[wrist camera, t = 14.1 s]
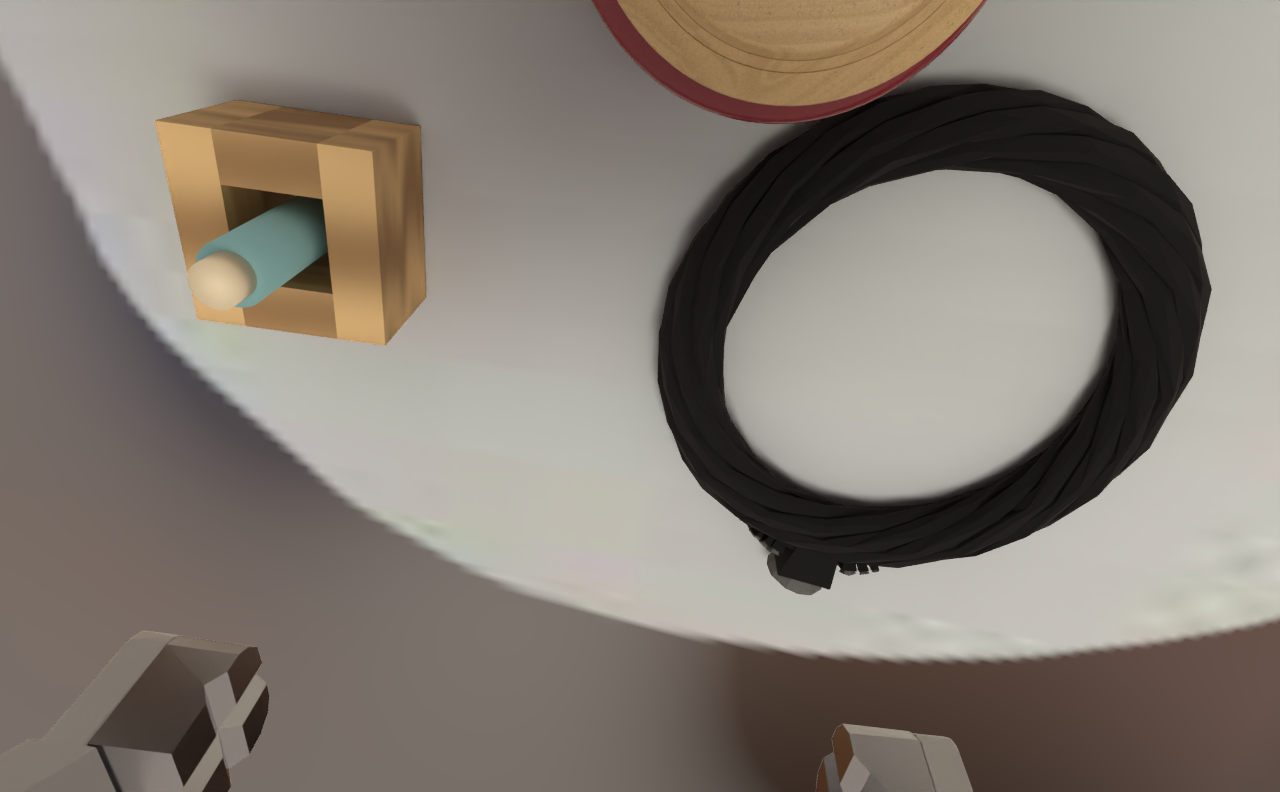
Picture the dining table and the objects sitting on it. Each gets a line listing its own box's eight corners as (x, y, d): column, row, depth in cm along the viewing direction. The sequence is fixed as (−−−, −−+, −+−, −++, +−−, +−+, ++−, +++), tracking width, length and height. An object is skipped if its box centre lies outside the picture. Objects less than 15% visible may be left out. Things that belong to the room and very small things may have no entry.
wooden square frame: (235, 100, 34) (154, 120, 29) (420, 126, 34) (372, 151, 29) (263, 274, 39) (197, 319, 33) (426, 297, 39) (385, 345, 33)
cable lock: (1377, 211, 30) (996, 653, 45) (1309, 189, 34) (975, 607, 48) (779, -9, 27) (583, 538, 42) (769, -10, 31) (590, 499, 46)
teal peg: (308, 176, 36) (169, 245, 26) (363, 184, 36) (245, 255, 26) (314, 229, 37) (184, 314, 27) (367, 237, 37) (256, 324, 27)
